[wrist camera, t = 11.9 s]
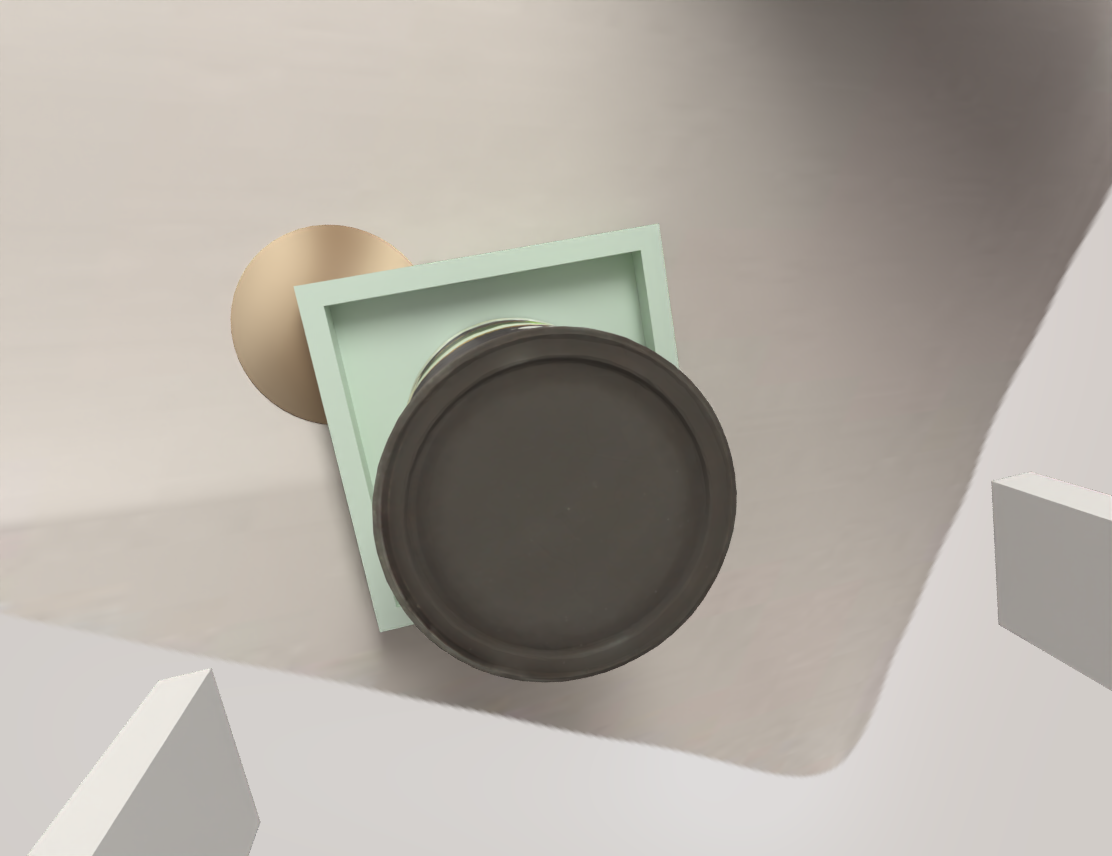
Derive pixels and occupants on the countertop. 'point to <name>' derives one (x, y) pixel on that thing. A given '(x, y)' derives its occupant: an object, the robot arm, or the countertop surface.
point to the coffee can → (552, 500)
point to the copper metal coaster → (296, 307)
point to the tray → (440, 313)
